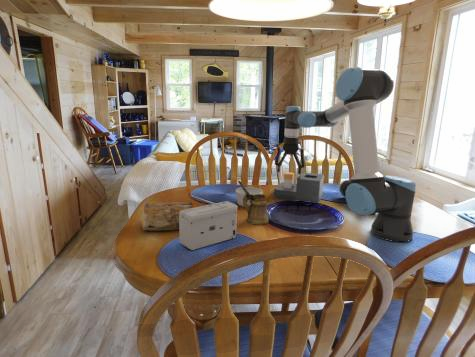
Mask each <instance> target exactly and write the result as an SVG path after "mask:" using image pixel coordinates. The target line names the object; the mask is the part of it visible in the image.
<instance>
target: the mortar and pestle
mask: <svg viewBox="0 0 475 357" xmlns="http://www.w3.org/2000/svg"><path fill="white" fill-rule="evenodd" d="M237 183H238V184H239V186H240V188H242V189H243V190H244V192H245V193H246V194H245V196H244V198H243V205H244V209H245V210H246V212H247V218H246V221H247V222H248V223H249V224H252V225H258V226H260V225H261V226H262V225H265V224H268V223H269V216H268V207H267V204H268V200H267V196H266V195H265V194H256V195H253V194H249V192H248V191H247V189H246V188H245V187H246V186H245V185H244V184H243V182H242V181H240V180H237ZM248 200H250V203H251V204H250V206H249V205H248V204H247V201H248Z"/></svg>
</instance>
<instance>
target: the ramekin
mask: <svg viewBox="0 0 475 357" xmlns="http://www.w3.org/2000/svg"><path fill="white" fill-rule="evenodd" d="M245 188H246V189H247V191H248V192H249V194H253V195H256V194H262V195H264V194H263V193H264V192H263V190H262V189H260V188H257V187H251V186H247V187H246V186H245ZM235 194H236V197H235V198H236V203H237V205H239V206H240V207H244V205H243V198H244V196H245V194H246V193H245V192H244V190H243V189H242V187H239V188H238V187H237V188H235ZM247 204H248V205H249V206H250V204H251V203H250V200H248V201H247ZM244 208H245V207H244Z"/></svg>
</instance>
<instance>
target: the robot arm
mask: <svg viewBox="0 0 475 357" xmlns="http://www.w3.org/2000/svg"><path fill="white" fill-rule="evenodd" d="M394 85H395V84H394V79H393V77H392V75H391V74H390V72H388V71H387V70H384V69H379V68H376V69H375V68H365V67H349V68H348V67H347V69H345V70H344V71H342V72H341V74H340V75H339V76H338V79H337V80H336V84H335V94H336V97H337V98H338V99H339V100H340V101H338V102H337V103H335V104H334V105H332V106H330V107H328V108H326V109H325V110H323V111H318V110H317V111H316V110H313V111H312V110H310V111H309V110H307V111H306V110H302V108H301V106H299V105H298V106H297V105H295V106H294V105H288V106H286V109H285V113H284V115H285V118H284V136H283V137H284V138H283V146H278V147H277V153H276V157H275V161H274V166H277V173H279V175H278V176H279V177H278V179H280V180H281V179H282V177H283V165H282V164H283V162H284V160H285V159H286V157H287V155H291V156H293V157H294V160H295V162H296V165H297V168H296V179H295V181H296V182H297V178H298V177H299V176H300V175H301V173H302V169H303V168H305V167H306V162H305V154H304V152H305V148H304V147H303V148H301V147H299V140H300V138H299V137H300V128H303V129H305V128H307V129H310V128H317V127H318V128H319V127H320V128H330V127H335V126H337V124H338V123H339V121H340V120H342V119H345V118H346V117H348V119H349V130H350V138H351V139H350V141H351V150H352V160H353V162H352V163H353V170H354V174H353V176H352V177H350V180H351V184H350V185H349V186H348V187H347V190H346V192H345V197H346V198H345V197H344V198H345V202H346V204H347V206H348V207H349V208H350V209H351V211H352V212H353V213H355V214H357V215H361V216H362V215H368V216H369V215H374V214H373V213H375V214H377V215H376V216H375V218H374V219H373V222H372V224H371V227H370V231H371V234H372V235H374V236H375V237H377V236H378V237H377V238H379V237H381V238H384V239H388V240H392V241H391V242H393V241H408V240H411V239H412V238H414V228H413V224H412V212H413V205H414V201H415V194H416V183H415V181H413V180H411V179H407V178H404V177H400V176H394V175H383V174H382V173H381V172H380V167H379V155H378V154H379V153H378V146H377V134H376V124H375V115H374V113H375V112H374V107H375V106H376V105H377V104H379V103H381V102H383V101H385V100H386V99H387V98H388V97H390V95H391V94H392V92H393V90H394ZM282 151H284V153H283V154H282V157H281V159H280V156H281V153H282ZM297 152H299V153H300V159H299V156H298V153H297ZM300 160H301V161H300ZM381 238H380V239H381ZM384 239H383V240H384ZM388 240H387V241H388ZM412 240H413V239H412ZM412 240H411V241H412ZM408 242H409V241H408Z"/></svg>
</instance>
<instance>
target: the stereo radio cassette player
mask: <svg viewBox="0 0 475 357" xmlns="http://www.w3.org/2000/svg"><path fill="white" fill-rule="evenodd" d="M191 197H194V198H197V199H199V200H201V201H203V202H207V203H209V204H206V205H200V206H197V207H192V208H191V209H186V210H181V211H180V212H179V229H178V230H179V243H180V244H182V245H183V246H184V247H186V248H187V249H188V250H190V251H192V250H193V251H195V250H198V249H201V248H204V247H208V246H212V245H215V244H218V243H222V242H225V241H228V240H232V238H233V239H235V238H236V235H237V225H238V224H237V219H238V218H237V212H238V204H235V203H233V202H231V201H229V200H226V201H221V202H217V203H216V202H215V203H214V202H213V201H209V200H206V199H203V198H200V197H198V196H196V195H193V194H191Z"/></svg>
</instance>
